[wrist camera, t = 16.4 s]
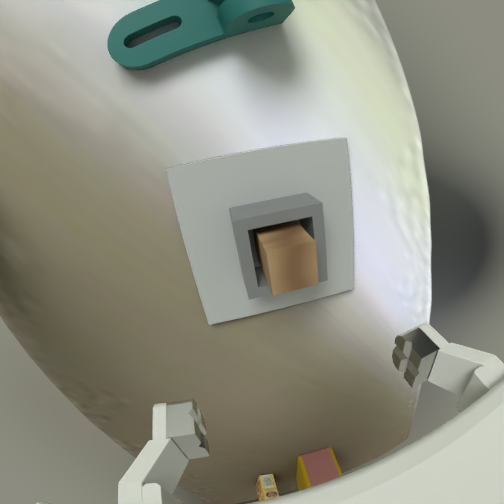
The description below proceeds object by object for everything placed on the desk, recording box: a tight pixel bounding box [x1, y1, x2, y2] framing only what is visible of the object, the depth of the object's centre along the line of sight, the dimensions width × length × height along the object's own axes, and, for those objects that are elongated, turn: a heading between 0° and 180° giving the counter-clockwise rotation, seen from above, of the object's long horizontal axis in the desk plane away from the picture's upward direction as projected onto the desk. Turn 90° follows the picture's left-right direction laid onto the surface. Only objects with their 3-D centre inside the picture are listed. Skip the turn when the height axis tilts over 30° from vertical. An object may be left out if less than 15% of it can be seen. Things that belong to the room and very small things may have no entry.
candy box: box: [256, 474, 279, 501], centre depth 57 cm, size 9×4×15 cm, turn 175°
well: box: [166, 138, 354, 325], centre depth 32 cm, size 20×20×6 cm
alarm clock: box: [296, 447, 343, 491], centre depth 53 cm, size 21×9×26 cm, turn 6°
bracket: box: [108, 0, 295, 70], centre depth 20 cm, size 18×7×8 cm, turn 111°
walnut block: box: [252, 220, 318, 296], centre depth 30 cm, size 4×4×8 cm
